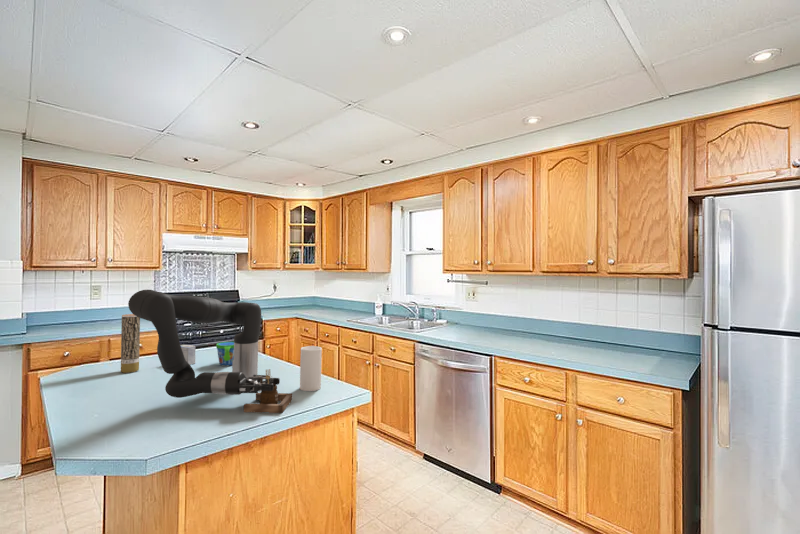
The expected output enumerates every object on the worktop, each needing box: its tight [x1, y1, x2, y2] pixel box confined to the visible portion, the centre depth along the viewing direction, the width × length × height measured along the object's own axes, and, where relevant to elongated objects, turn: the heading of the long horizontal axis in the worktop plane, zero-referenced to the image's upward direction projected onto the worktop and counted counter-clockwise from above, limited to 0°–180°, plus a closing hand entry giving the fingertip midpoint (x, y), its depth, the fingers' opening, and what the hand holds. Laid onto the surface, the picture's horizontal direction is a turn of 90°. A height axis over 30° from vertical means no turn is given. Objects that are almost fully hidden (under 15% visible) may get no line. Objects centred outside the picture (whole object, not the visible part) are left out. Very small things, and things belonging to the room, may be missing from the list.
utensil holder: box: [259, 368, 279, 404], centre depth 141 cm, size 6×6×12 cm
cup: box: [299, 345, 323, 392], centre depth 163 cm, size 8×8×16 cm
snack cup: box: [215, 341, 234, 367], centre depth 196 cm, size 16×10×10 cm
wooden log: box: [120, 313, 141, 374], centre depth 180 cm, size 7×7×25 cm
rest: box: [243, 392, 293, 414], centre depth 141 cm, size 13×13×2 cm
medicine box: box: [180, 344, 196, 366], centre depth 195 cm, size 8×4×9 cm, turn 71°
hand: (276, 384), depth 141 cm, fingers open, 6 cm apart
